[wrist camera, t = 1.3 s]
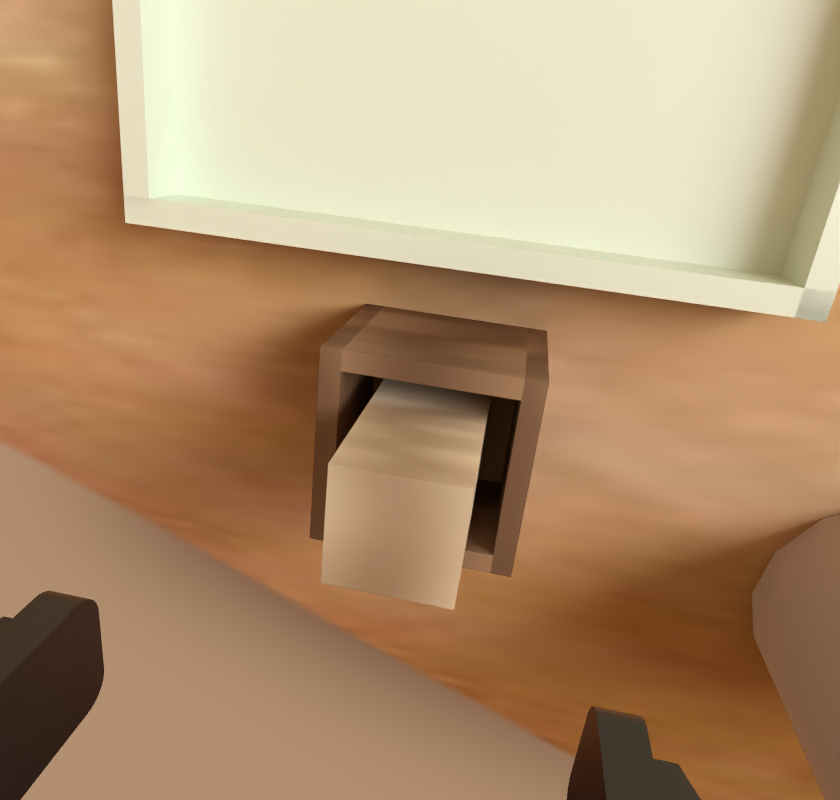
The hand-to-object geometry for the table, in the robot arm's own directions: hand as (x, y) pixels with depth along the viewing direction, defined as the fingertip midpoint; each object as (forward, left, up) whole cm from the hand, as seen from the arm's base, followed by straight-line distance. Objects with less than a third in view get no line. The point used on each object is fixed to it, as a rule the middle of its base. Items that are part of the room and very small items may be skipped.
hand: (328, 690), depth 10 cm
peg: (0, 0, -13) cm, 13 cm away
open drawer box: (0, 0, -13) cm, 13 cm away
